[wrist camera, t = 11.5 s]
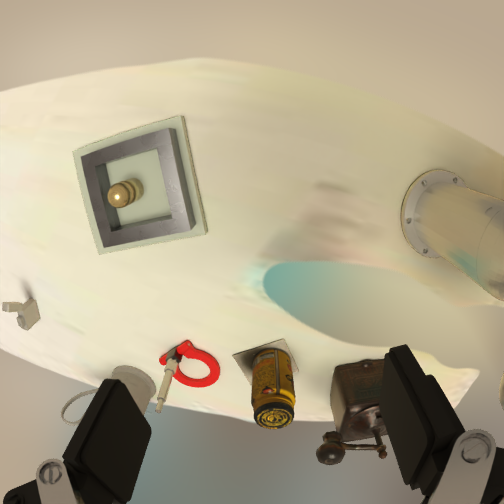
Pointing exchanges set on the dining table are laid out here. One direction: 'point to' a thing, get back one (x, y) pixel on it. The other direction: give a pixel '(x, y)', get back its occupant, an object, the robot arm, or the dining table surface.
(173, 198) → the square metal frame
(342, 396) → the manual coffee grinder
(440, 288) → the dining table surface
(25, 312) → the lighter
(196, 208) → the plate
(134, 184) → the post
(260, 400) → the condiment
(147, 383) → the glass holder
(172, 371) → the tow hook
